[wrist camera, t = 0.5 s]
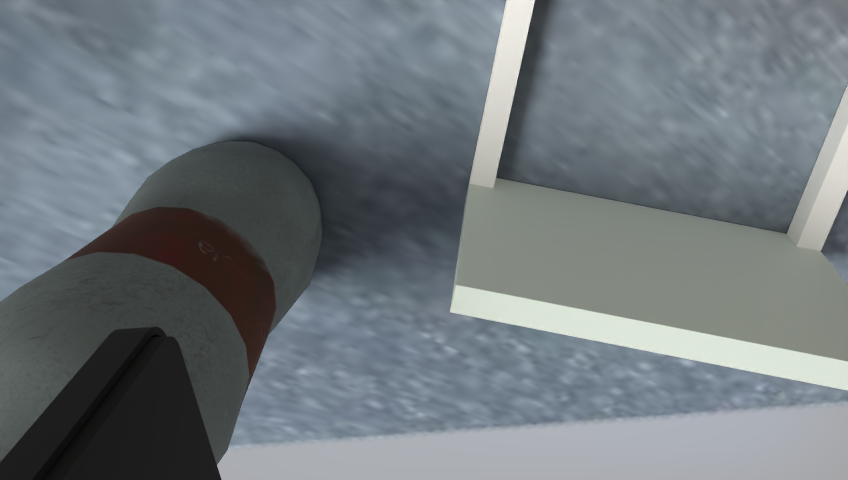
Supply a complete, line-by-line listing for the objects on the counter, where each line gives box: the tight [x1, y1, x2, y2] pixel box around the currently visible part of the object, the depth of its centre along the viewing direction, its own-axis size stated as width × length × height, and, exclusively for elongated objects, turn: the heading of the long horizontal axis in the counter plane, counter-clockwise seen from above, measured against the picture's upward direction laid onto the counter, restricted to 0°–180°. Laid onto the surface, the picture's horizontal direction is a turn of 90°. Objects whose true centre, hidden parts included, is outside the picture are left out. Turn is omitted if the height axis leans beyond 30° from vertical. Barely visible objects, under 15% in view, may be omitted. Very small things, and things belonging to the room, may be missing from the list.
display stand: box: [450, 0, 848, 390], centre depth 32 cm, size 14×17×12 cm
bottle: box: [0, 141, 323, 464], centre depth 28 cm, size 9×9×30 cm
